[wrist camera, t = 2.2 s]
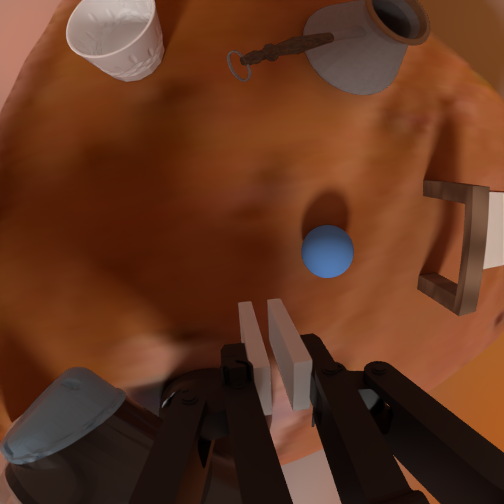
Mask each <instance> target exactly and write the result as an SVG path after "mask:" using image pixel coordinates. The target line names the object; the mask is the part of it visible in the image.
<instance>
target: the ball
mask: <svg viewBox="0 0 504 504" xmlns="http://www.w3.org/2000/svg"><path fill="white" fill-rule="evenodd" d="M301 253H302V259H303V262H304V264H305V266H306V267H307V268H308V269H309V270H310V271H311V272H312V273H313V274H315V275H317V276H319V277H323V278H332V277H336V276H338V275H340V274H342V273H343V272H345V271H346V270H347V268H348V267H349V266H350V264H351V262H352V259H353V254H354V248H353V244H352V241H351V239H350V237H349V236H348V234H347V233H346V232H345V231H344V230H342V229H341V228H339V227H337V226H333V225H322V226H319V227H316V228H314V229H313V230H312V231H310V232H309V233H308V234H307V236H306V237H305V239H304V241H303V244H302V250H301Z"/></svg>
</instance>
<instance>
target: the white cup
mask: <svg viewBox="0 0 504 504" xmlns="http://www.w3.org/2000/svg"><path fill="white" fill-rule="evenodd" d="M66 38H67V42H68V44H69V46H70V48H71V49H72V50H73V51H74V52H75V53H77V54H78V55H80V56H81V57H83V58H84V59H86V60H87V61H89V62H90V63H92V64H93V65H94V66H96V67H97V68H99V69H101V70H102V71H104V72H105V73H107V74H109V75H111V76H112V77H114V78H115V79H119V80H122V81H125V82H129V81H136V80H141V79H143V78H144V77H146V76H148V75H150V74H151V73H153V72H154V70H155V69H156V68H157V67H158V66H159V64H160V63H161V62H162V58H163V55H164V51H165V49H164V45H163V40H162V39H163V35H162V30H161V25H160V21H159V17H158V13H157V9H156V4H155V0H82V1H81V2H80V3H79V5H78V6H77V7H76V8H75V10H74V11H73V13H72V14H71V16H70V19H69V21H68V24H67V29H66Z"/></svg>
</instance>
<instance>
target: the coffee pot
mask: <svg viewBox="0 0 504 504" xmlns="http://www.w3.org/2000/svg"><path fill="white" fill-rule="evenodd" d="M429 34H430V21H429V19H428V15H427V14H426V12H425V10H424V8H423V7H422V5H421V4H420V3H419V2H418V0H357V1H351V2H345V3H339V4H334V5H329V6H326V7H324V8H321V9H319V10H317V11H316V12H315V13H314V14H312V15H311V16H310V17H309V18H308V20H307V22H306V24H305V27H304V30H303V36H298V37H292V38H290V39H288V40H286V41H284V42H282V43H279V44H277V45H273V44H266V45H265V46H264V48H263V50H260V51H252V52H250V53H248V54H246V55H245V56H243V55H242V54H241V53H240V52H238V51H236V50H233V51H231V52H229V53H228V56H227V61H228V65H229V68H230V70H231V72H232V74H233V75H234V76H235V77H236V78H237V79H239V80H240V81H242V82H244V81H248V80H249V79H250V77H251V75H252V74H251V69H250V66H249V65H252V64H258V63H260V62H261V61H262V60H265V59H267V60H269V61H275V60H277V58H278V57H279V56H282V55H290V54H299V53H302V52H304V51H305V54H306V56H307V58H308V60H309V62H310V64H311V66H312V67H313V68H314V70H315V71H316V72H317V73H318V75H319V76H320V77H322V78H323V79H324V80H325V81H327V82H328V83H329V84H331V85H332V86H334V87H336V88H338V89H340V90H342V91H344V92H348V93H352V94H356V95H371V94H374V93H378V92H381V91H382V90H384V89H385V88H387V87H388V86H389V85H390V84H391V83H392V81H393V80H394V79H395V77H396V75H397V73H398V70H399V68H400V65H401V63H402V60H403V57H404V55H405V52H406V50H407V47H408V45H411V46H413V45H420V44H422V43H424V42H425V41H426V40H427V38H428V37H429ZM232 52H234V53H236V54H238V55H239V56H240V57H241V58H240V62H241V64H242V65H246V66H247V70H248V77H247V79H246V80H244V79H242V78H241V77H239V76H238V75H237V74H236V73H235V72H234V69H233V67H232V65H231V61H230V56H231V53H232Z"/></svg>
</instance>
